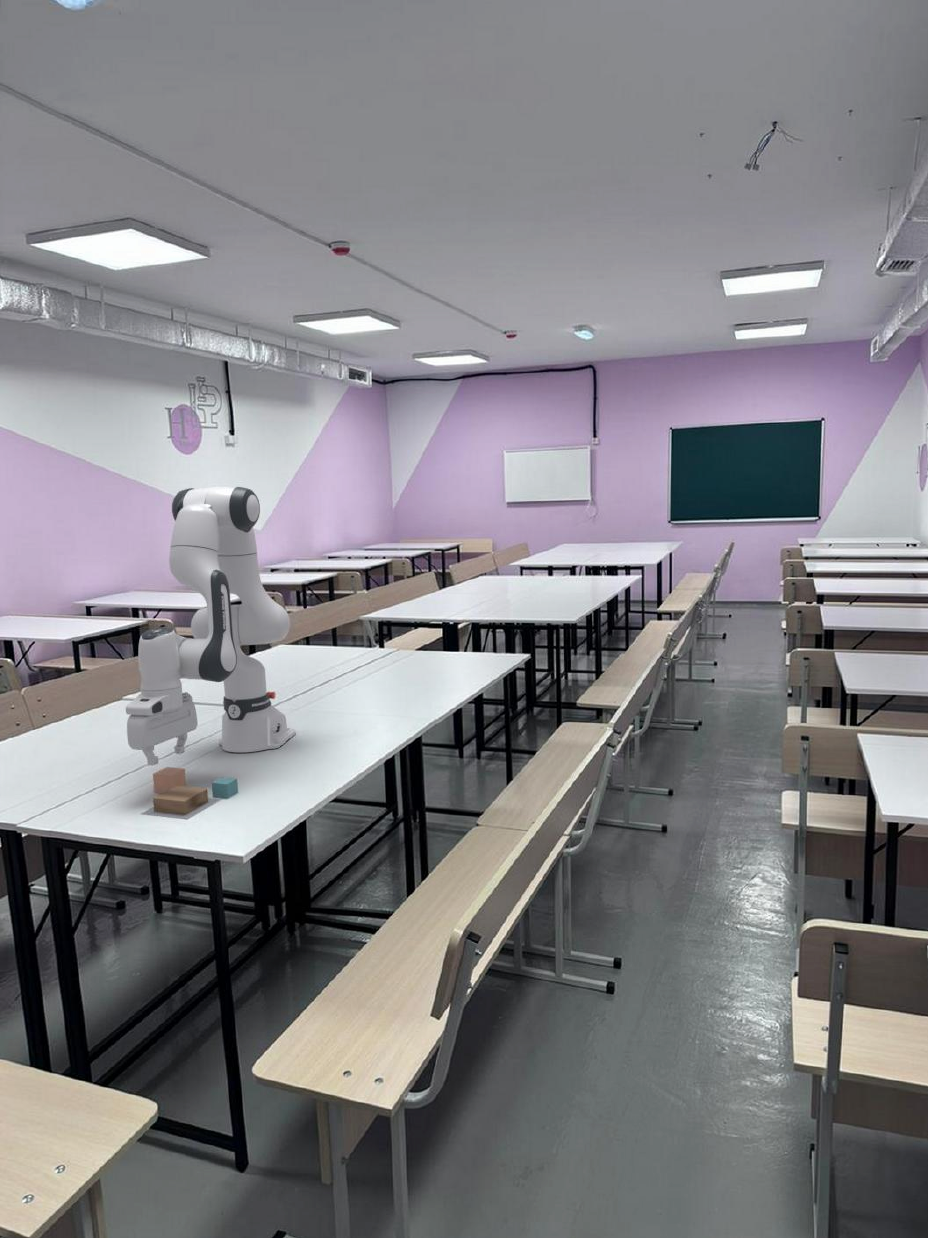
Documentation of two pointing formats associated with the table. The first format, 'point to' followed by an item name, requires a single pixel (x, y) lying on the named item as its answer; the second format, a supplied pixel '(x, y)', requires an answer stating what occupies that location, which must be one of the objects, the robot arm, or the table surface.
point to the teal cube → (224, 787)
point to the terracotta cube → (168, 779)
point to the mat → (179, 816)
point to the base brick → (180, 800)
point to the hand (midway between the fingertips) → (166, 758)
